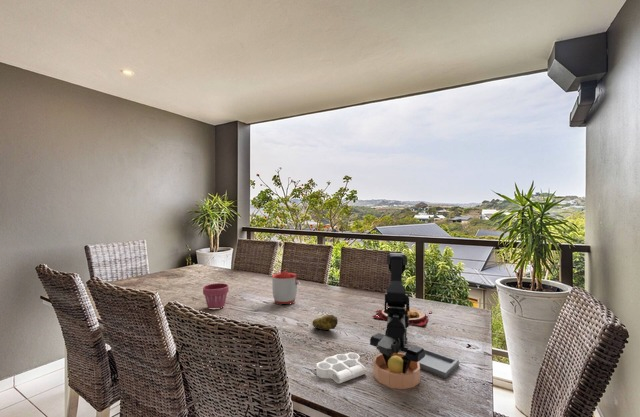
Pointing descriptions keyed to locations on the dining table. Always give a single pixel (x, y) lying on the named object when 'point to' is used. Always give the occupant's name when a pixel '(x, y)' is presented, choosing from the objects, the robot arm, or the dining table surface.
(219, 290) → the plant pot
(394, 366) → the ball
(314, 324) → the potato
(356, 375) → the white brass knuckles
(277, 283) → the citrus juicer
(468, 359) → the dining table surface
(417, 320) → the plate with food
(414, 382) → the bowl
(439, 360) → the tray
